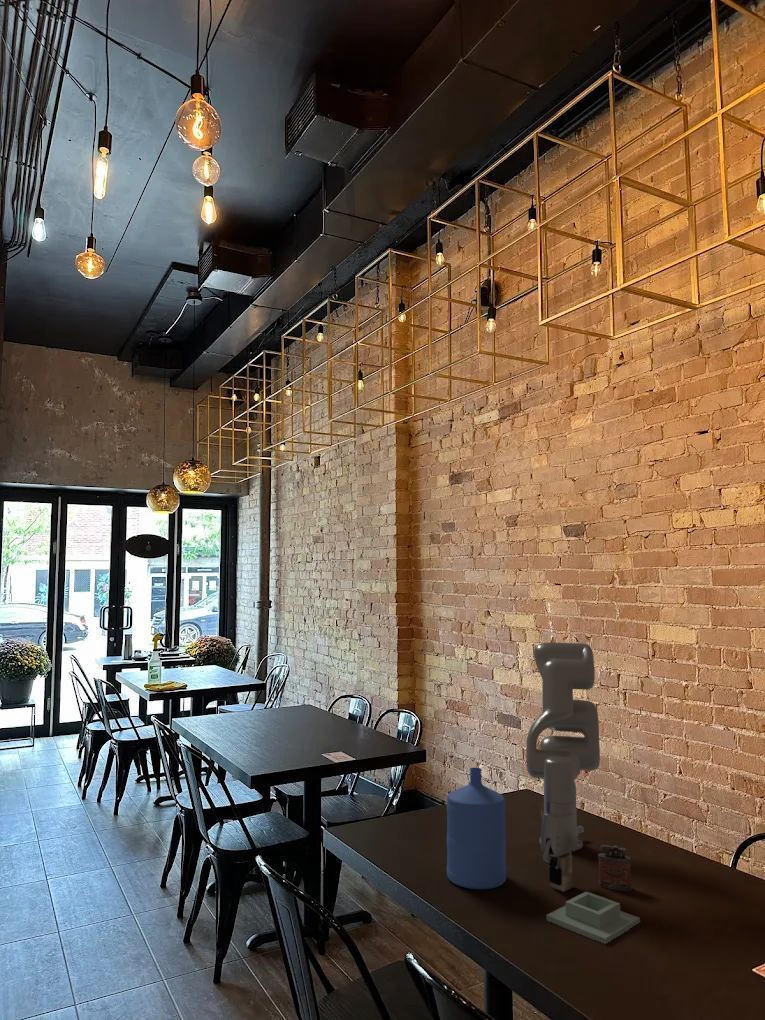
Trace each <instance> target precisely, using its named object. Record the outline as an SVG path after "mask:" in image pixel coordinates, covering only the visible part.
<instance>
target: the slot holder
mask: <svg viewBox="0 0 765 1020" xmlns="http://www.w3.org/2000/svg"><path fill="white" fill-rule="evenodd" d="M546 921H547V922H549V923H551V922H552V924H554V925H556V926H559V927H562V928H564V929H566V930H569V931H571V932H574V933H575V934H579V935H580V936H582V937H586V938H588V939H590V940H593V941H595V940H596V942H598V941H599V942H598V943H600V942H601V944H603V943H604V944H603V945H607V944H608V942H609V943H610V942H611V940H612V941H613V939H614V938H615V939H617V938H618V936H619V937H620V936H622V935H623V934H625V933H627V932H628V931H630V930H631V929H630V928H632V927H633V926H635V925H636V924H638V923H640V924H641V918H640V917H639V916H636V915H633V914H630V913H627V912H625V911H622V910H621V903H620V902H617V901H615V900H612V899H609V898H606V897H604V896H600V895H597V894H594V893H592V892H589V891H584V892H582V893H580V894H578V895H576V896H574V897H572V898H571V899H569V900H566V901H565V904H564V906H561V907H560V908H557V909H556V910H554V911H552V912H550V913H548V914H546ZM638 925H639V924H638ZM635 927H636V926H635ZM633 928H634V927H633ZM633 928H632V929H633ZM629 929H630V930H629ZM626 931H627V932H626ZM624 932H625V933H624ZM621 934H622V935H621ZM616 937H617V938H616ZM615 939H614V940H615ZM606 943H607V944H606Z"/></svg>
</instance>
